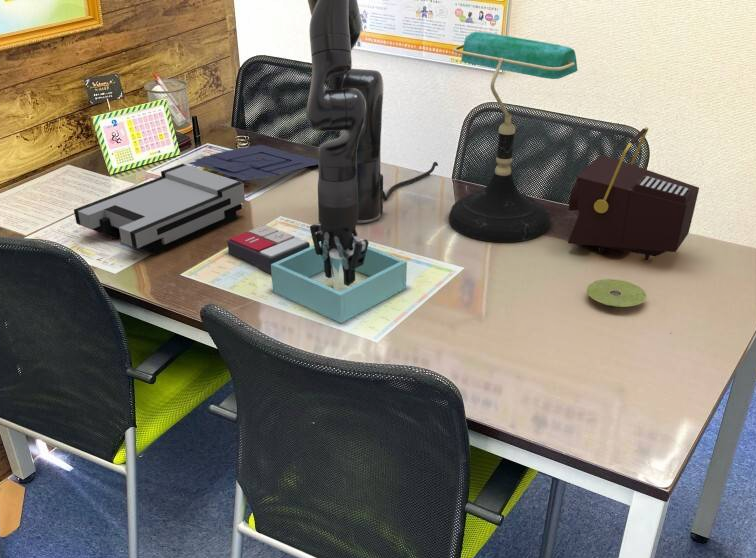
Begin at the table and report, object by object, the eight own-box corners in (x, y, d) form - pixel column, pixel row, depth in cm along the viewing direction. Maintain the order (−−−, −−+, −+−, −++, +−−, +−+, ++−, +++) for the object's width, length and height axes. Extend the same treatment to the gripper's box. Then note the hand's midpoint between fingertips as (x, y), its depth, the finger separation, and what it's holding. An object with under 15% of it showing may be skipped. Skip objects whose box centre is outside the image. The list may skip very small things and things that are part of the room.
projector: (584, 225, 199) (601, 116, 184) (687, 247, 189) (714, 133, 174) (559, 252, 187) (576, 138, 173) (668, 277, 177) (694, 157, 163)
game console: (79, 238, 194) (72, 204, 189) (186, 195, 215) (182, 163, 210) (139, 264, 184) (133, 228, 179) (246, 216, 204) (243, 183, 199)
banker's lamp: (573, 221, 201) (600, 39, 178) (521, 254, 186) (543, 60, 163) (478, 193, 215) (491, 21, 192) (422, 222, 200) (430, 40, 177)
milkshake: (325, 285, 175) (323, 239, 169) (351, 284, 176) (351, 238, 170) (326, 295, 171) (325, 249, 166) (353, 294, 172) (352, 248, 166)
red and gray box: (265, 222, 192) (310, 239, 183) (267, 240, 194) (311, 258, 185) (225, 237, 186) (270, 255, 176) (228, 256, 188) (272, 274, 179)
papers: (182, 172, 224) (182, 158, 223) (260, 154, 246) (260, 141, 244) (251, 193, 212) (251, 178, 211) (327, 172, 234) (328, 158, 232)
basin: (338, 260, 184) (337, 234, 181) (406, 288, 174) (407, 261, 170) (272, 291, 173) (270, 264, 170) (341, 323, 162) (340, 295, 159)
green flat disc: (648, 294, 171) (650, 285, 170) (639, 319, 163) (641, 310, 162) (591, 283, 175) (593, 274, 174) (579, 308, 167) (581, 299, 166)
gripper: (379, 202, 161) (378, 284, 170) (324, 183, 169) (327, 263, 178) (352, 214, 156) (352, 298, 166) (297, 194, 164) (301, 275, 174)
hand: (339, 279), depth 172 cm, fingers open, 4 cm apart
